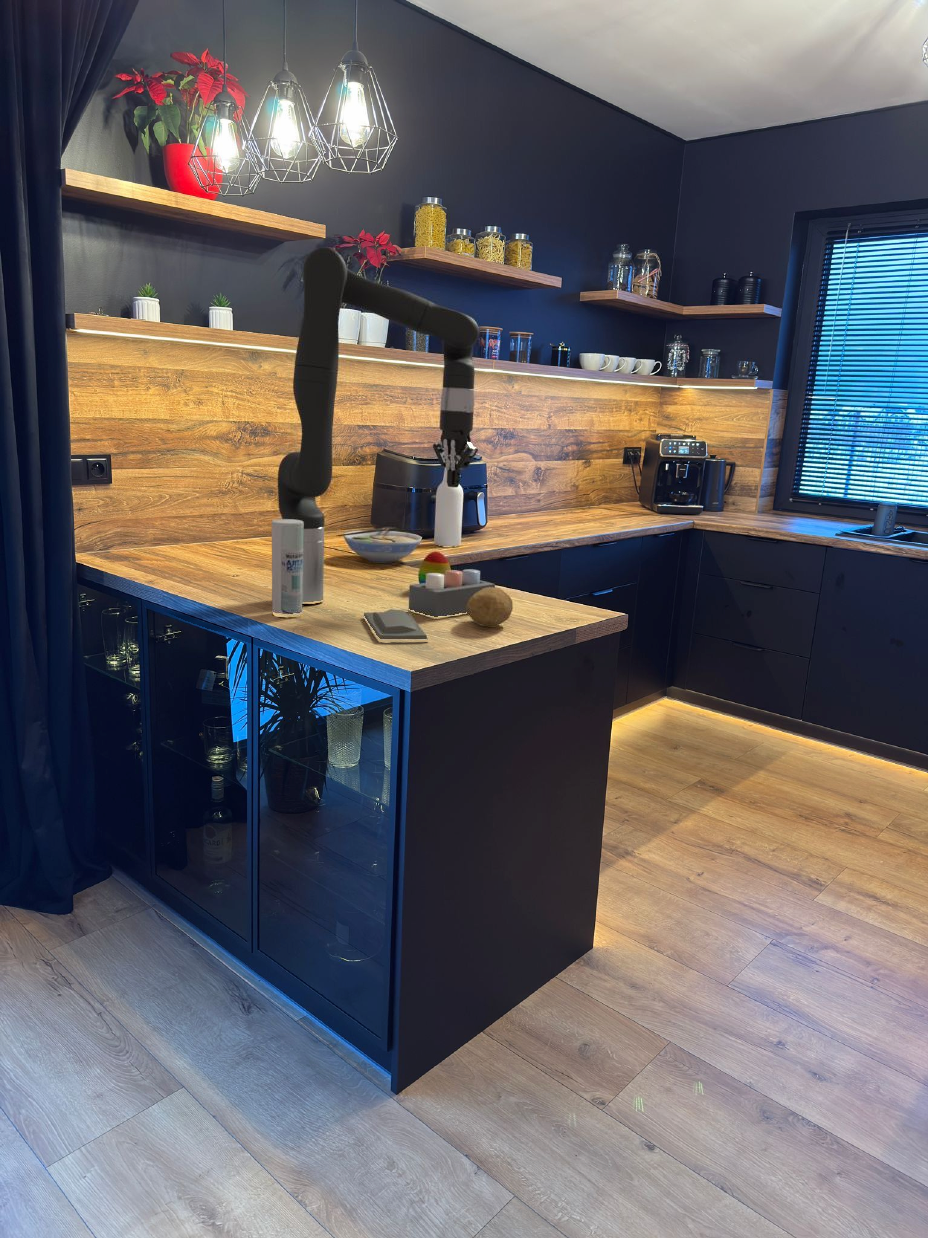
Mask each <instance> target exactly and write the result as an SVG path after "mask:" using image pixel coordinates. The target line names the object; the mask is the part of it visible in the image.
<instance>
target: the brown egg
mask: <svg viewBox="0 0 928 1238" xmlns="http://www.w3.org/2000/svg"><path fill="white" fill-rule="evenodd" d="M462 575H463V570H457V569H456V570H455V569H454V570H453V569H451V570H447V571H445V578H444V585H445V586H449V587H459V586H462Z"/></svg>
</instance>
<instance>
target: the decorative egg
mask: <svg viewBox="0 0 928 1238" xmlns="http://www.w3.org/2000/svg"><path fill="white" fill-rule="evenodd" d="M450 565H451V564H450V563H449V561H448V559H447V557H445V555H444V554H443V553H441V552H440V551H431V552H429V553H428V554H427V555H426V556H425V557H424V558H423V560H422V562H421V563H420V566H419V570H418V577H417V578H418V584H421V583H426V574H428V573H440V574H444V578H445V571H447V570H452V569H451V566H450Z"/></svg>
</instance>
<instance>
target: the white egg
mask: <svg viewBox="0 0 928 1238" xmlns="http://www.w3.org/2000/svg"><path fill="white" fill-rule="evenodd" d="M426 588H428V589H432V590H438V589H444V574H440V573H428V574H426Z"/></svg>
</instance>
